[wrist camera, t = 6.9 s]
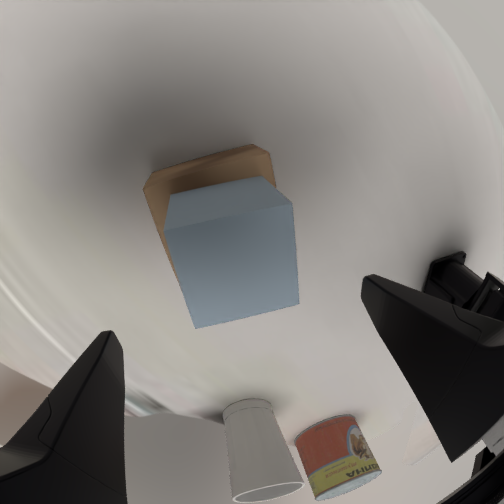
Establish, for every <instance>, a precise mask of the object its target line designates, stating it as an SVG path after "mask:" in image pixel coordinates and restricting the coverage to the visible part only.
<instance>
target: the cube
mask: <svg viewBox="0 0 504 504" xmlns="http://www.w3.org/2000/svg"><path fill="white" fill-rule="evenodd" d="M163 231H164V235H165V238H166V242H167V245H168V248H169V252H170V255H171V258H172V261H173V265H174V268H175V271H176V274H177V277H178V280H179V283H180V286H181V289H182V292H183V295H184V298H185V301H186V304H187V307H188V310H189V313H190V316H191V318H192V321H193V324H194V327H195V329H197V328H202V327H207V326H211V325H216V324H220V323H225V322H229V321H233V320H238V319H242V318H246V317H250V316H255V315H259V314H263V313H267V312H271V311H275V310H278V309H282V308H286V307H290V306H294V305H297V304H299V288H298V271H297V257H296V243H295V230H294V218H293V207H292V203H291V202H290V201H289V200H288V199H287V198H286V197H285V196H284V195H283V194H282V193H280V192H279V191H278V190H277V189H276V188H275V187H274V186H273V185H272V184H271V183H269V182H268V181H267V180H266V179H265V178H264V177H263V176H257V177H251V178H246V179H241V180H235V181H230V182H225V183H221V184H216V185H211V186H206V187H202V188H197V189H193V190H188V191H184V192H180V193H175V194H171V195H170V200H169V205H168V210H167V215H166V220H165V225H164V230H163Z"/></svg>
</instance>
